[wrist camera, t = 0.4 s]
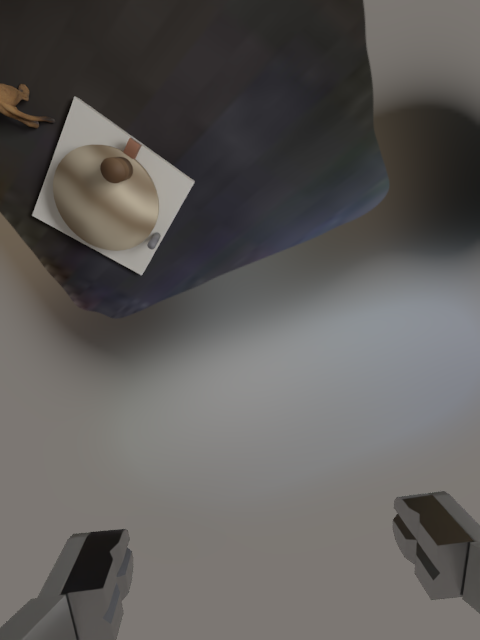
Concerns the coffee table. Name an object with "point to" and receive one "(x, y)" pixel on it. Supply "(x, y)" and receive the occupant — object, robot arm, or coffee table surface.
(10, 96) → the lion figurine
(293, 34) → the coffee table surface
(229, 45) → the coffee table surface
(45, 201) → the post base
